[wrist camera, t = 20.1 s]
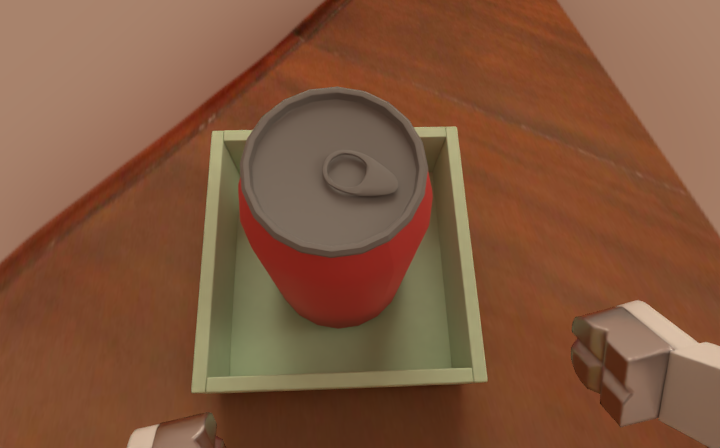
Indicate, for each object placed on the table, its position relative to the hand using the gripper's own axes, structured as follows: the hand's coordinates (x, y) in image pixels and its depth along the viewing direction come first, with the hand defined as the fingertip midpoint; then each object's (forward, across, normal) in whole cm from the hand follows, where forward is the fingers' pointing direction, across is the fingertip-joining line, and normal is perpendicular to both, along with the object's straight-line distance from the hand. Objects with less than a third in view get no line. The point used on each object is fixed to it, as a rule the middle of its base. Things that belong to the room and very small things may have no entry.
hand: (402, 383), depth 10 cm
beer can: (+14, 0, +5) cm, 15 cm away
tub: (+14, 0, +6) cm, 16 cm away
